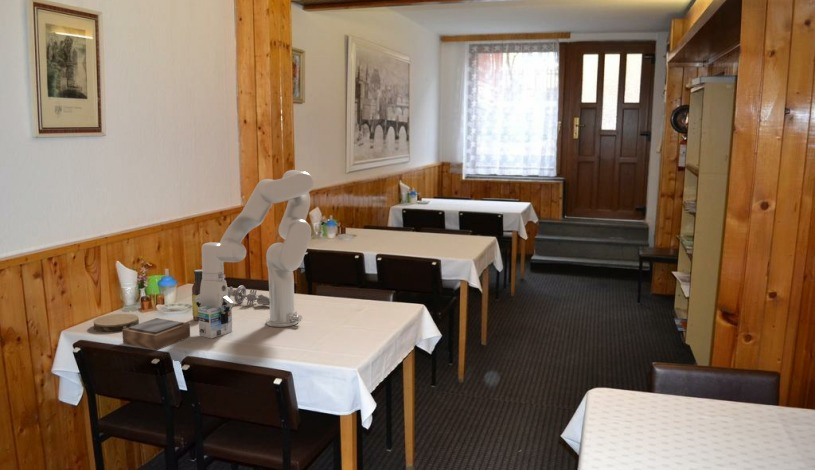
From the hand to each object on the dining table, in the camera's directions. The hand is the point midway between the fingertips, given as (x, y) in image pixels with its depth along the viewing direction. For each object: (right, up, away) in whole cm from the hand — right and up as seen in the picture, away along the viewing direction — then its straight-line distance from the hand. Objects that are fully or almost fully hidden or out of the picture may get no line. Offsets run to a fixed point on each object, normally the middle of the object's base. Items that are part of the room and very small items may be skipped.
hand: (214, 321), depth 247 cm
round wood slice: (-41, -4, +10) cm, 42 cm away
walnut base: (-19, -6, -7) cm, 21 cm away
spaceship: (-1, +2, +44) cm, 44 cm away
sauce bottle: (-11, -2, +19) cm, 22 cm away
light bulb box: (0, -5, +1) cm, 5 cm away
